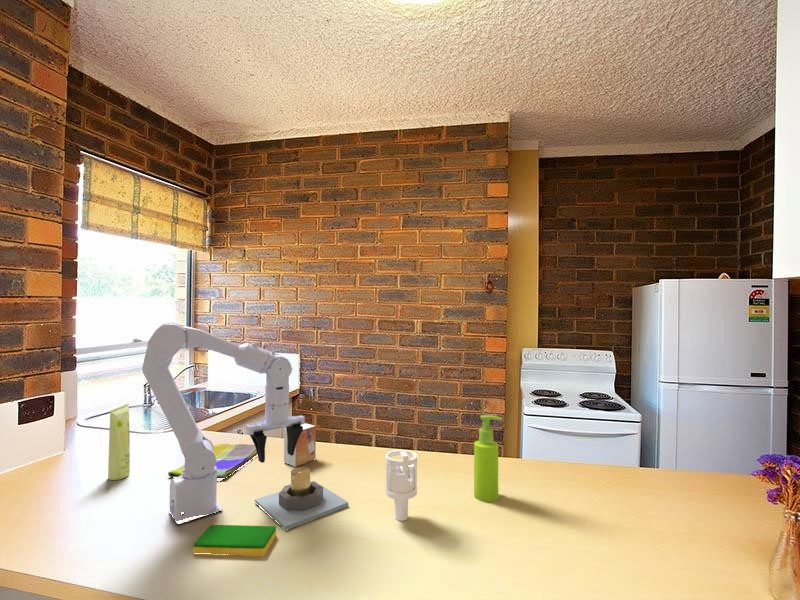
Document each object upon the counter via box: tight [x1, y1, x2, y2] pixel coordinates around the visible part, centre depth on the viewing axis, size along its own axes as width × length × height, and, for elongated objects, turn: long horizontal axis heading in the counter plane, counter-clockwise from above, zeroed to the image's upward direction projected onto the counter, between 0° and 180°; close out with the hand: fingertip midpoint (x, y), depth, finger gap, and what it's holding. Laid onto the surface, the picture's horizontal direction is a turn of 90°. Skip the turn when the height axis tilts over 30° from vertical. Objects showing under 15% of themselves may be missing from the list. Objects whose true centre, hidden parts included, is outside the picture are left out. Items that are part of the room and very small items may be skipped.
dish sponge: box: [192, 524, 277, 557], centre depth 81 cm, size 7×14×2 cm, turn 88°
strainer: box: [385, 449, 418, 522], centre depth 92 cm, size 7×7×15 cm
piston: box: [290, 466, 311, 497], centre depth 97 cm, size 4×4×7 cm
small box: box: [283, 422, 317, 467], centre depth 125 cm, size 8×6×10 cm
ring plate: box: [254, 480, 349, 531], centre depth 97 cm, size 16×16×4 cm
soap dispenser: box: [473, 414, 503, 503], centre depth 102 cm, size 6×7×20 cm
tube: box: [107, 402, 131, 481], centre depth 113 cm, size 6×5×20 cm
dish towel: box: [167, 443, 257, 478], centre depth 123 cm, size 18×24×3 cm
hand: (276, 457), depth 102 cm, fingers open, 7 cm apart
